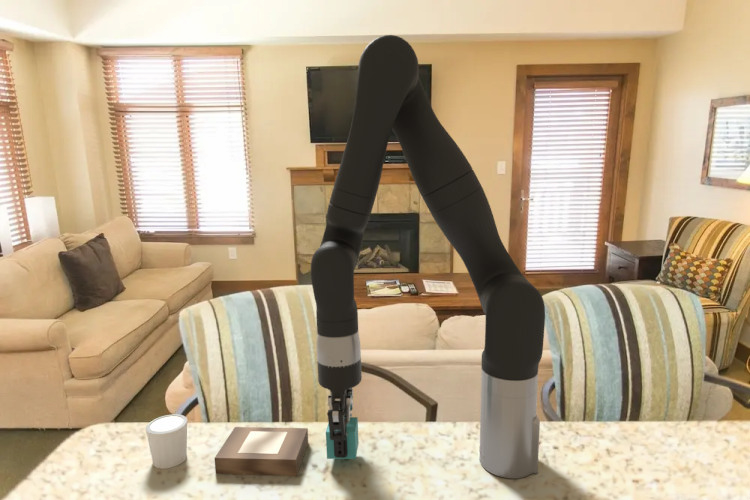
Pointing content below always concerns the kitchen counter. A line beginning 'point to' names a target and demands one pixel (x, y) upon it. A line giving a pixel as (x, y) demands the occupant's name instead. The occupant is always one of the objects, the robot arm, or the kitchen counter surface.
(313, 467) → the kitchen counter surface
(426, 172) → the robot arm
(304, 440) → the walnut plinth
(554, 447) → the kitchen counter surface
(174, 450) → the white tapered cup
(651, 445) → the kitchen counter surface
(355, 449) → the teal cube
